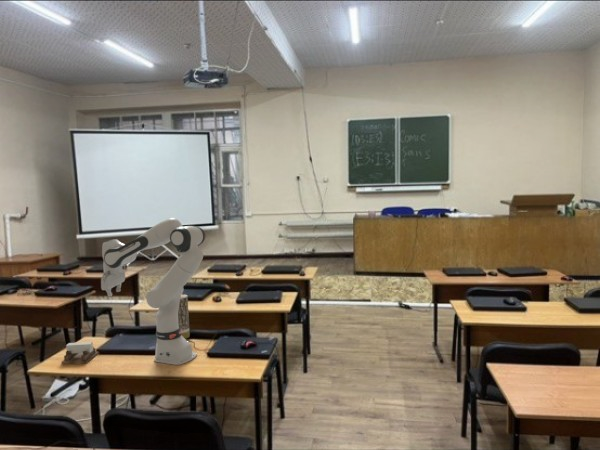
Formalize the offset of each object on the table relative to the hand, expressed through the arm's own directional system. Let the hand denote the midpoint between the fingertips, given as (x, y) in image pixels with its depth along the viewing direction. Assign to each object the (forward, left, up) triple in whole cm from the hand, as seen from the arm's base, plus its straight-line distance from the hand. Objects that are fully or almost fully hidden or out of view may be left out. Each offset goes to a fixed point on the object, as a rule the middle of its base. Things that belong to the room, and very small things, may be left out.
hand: (114, 294), depth 222 cm
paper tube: (-20, -29, -31) cm, 47 cm away
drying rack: (+6, +18, -31) cm, 36 cm away
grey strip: (+6, +18, -27) cm, 33 cm away
